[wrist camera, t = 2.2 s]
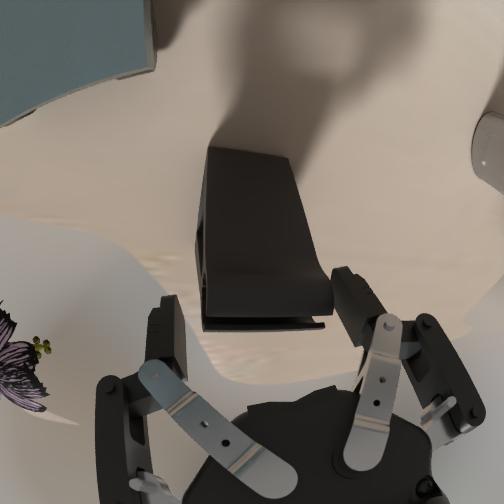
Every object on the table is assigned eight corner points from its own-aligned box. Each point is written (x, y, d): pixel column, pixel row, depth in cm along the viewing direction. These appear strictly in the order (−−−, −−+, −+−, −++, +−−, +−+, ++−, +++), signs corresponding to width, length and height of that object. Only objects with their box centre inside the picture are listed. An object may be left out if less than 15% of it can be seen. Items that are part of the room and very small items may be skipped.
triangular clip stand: (208, 144, 18) (218, 232, 9) (287, 157, 20) (368, 246, 10) (194, 248, 23) (198, 373, 14) (261, 252, 25) (299, 369, 15)
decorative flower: (-46, 328, 12) (47, 438, 17) (22, 269, 22) (94, 371, 27) (-47, 333, 17) (15, 413, 22) (-1, 290, 27) (52, 366, 32)
